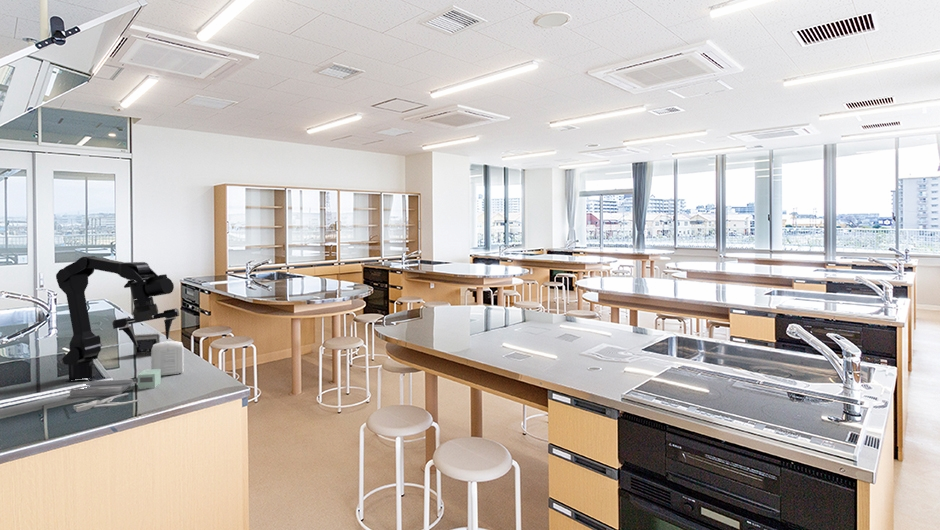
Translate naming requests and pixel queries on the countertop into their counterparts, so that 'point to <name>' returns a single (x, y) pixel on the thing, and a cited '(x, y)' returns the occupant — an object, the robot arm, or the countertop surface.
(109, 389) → the mounting board
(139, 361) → the countertop surface
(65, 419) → the countertop surface
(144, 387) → the green module
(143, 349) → the electrical switch
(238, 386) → the countertop surface
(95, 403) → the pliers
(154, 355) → the photo printer
